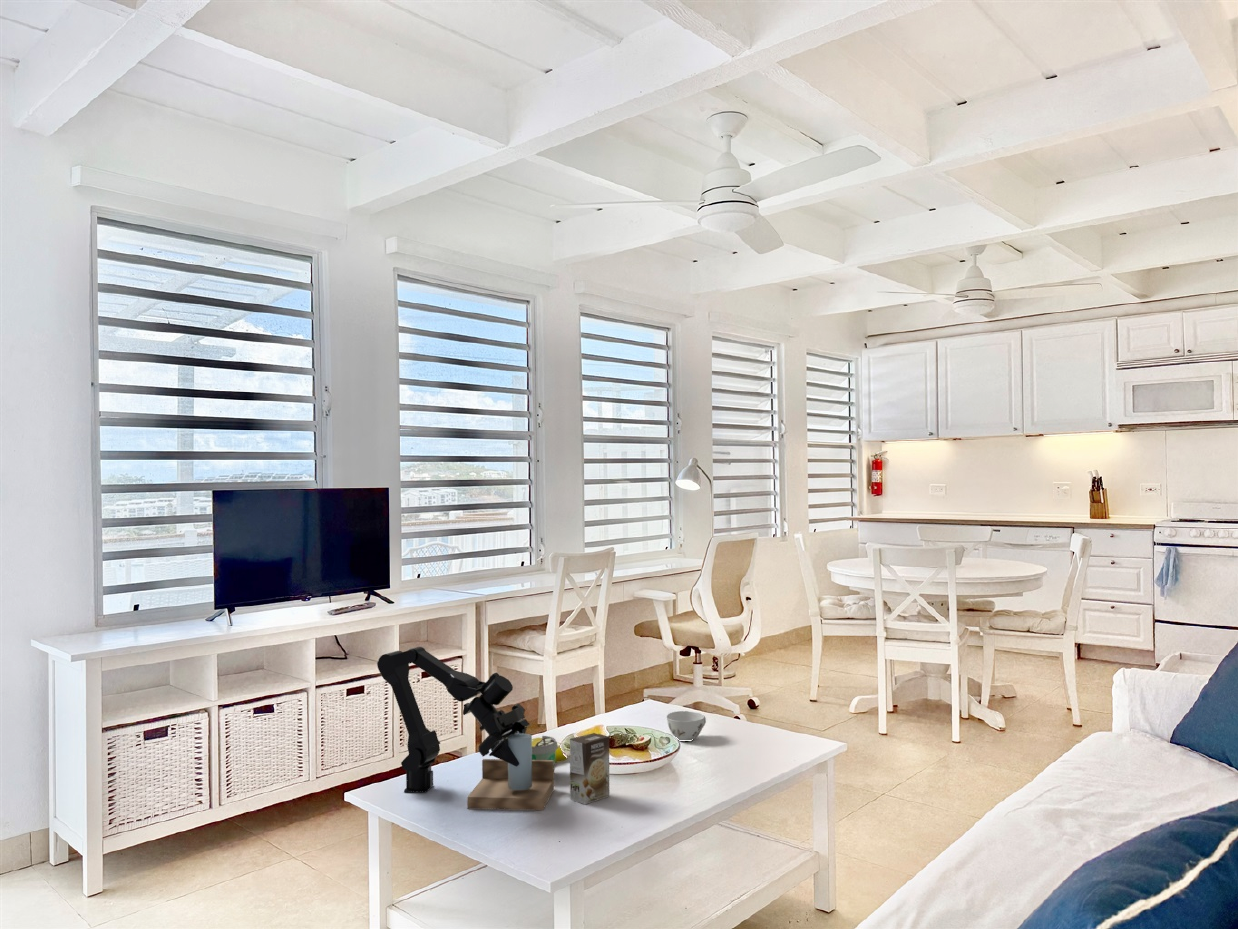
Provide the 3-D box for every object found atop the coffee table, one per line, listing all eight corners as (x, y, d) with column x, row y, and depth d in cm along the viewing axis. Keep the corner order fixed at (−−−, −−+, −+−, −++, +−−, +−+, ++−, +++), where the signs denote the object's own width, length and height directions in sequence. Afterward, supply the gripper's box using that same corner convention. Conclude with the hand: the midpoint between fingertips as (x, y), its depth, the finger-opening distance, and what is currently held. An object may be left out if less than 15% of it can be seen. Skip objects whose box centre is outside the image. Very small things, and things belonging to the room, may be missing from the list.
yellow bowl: (538, 750, 275) (538, 735, 276) (570, 759, 265) (570, 744, 265) (502, 761, 265) (501, 745, 265) (533, 771, 254) (533, 755, 254)
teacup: (682, 747, 274) (682, 722, 274) (659, 738, 285) (658, 714, 285) (718, 739, 283) (717, 715, 283) (694, 731, 293) (694, 707, 293)
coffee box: (585, 805, 224) (584, 743, 225) (569, 799, 229) (568, 738, 229) (610, 796, 231) (609, 736, 231) (594, 790, 235) (593, 731, 236)
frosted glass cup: (509, 791, 223) (508, 741, 223) (506, 783, 229) (506, 734, 230) (533, 789, 224) (533, 739, 225) (530, 781, 231) (530, 732, 231)
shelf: (467, 808, 223) (467, 777, 223) (483, 787, 239) (483, 759, 239) (542, 810, 221) (542, 779, 221) (553, 789, 237) (553, 760, 237)
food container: (551, 783, 241) (551, 748, 242) (530, 782, 243) (530, 747, 243) (563, 770, 254) (562, 736, 254) (543, 769, 255) (542, 735, 255)
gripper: (488, 704, 220) (526, 752, 216) (523, 689, 238) (559, 732, 233) (462, 732, 223) (499, 780, 219) (498, 715, 240) (533, 758, 236)
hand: (524, 761), depth 226 cm, fingers closed on frosted glass cup, 6 cm apart
